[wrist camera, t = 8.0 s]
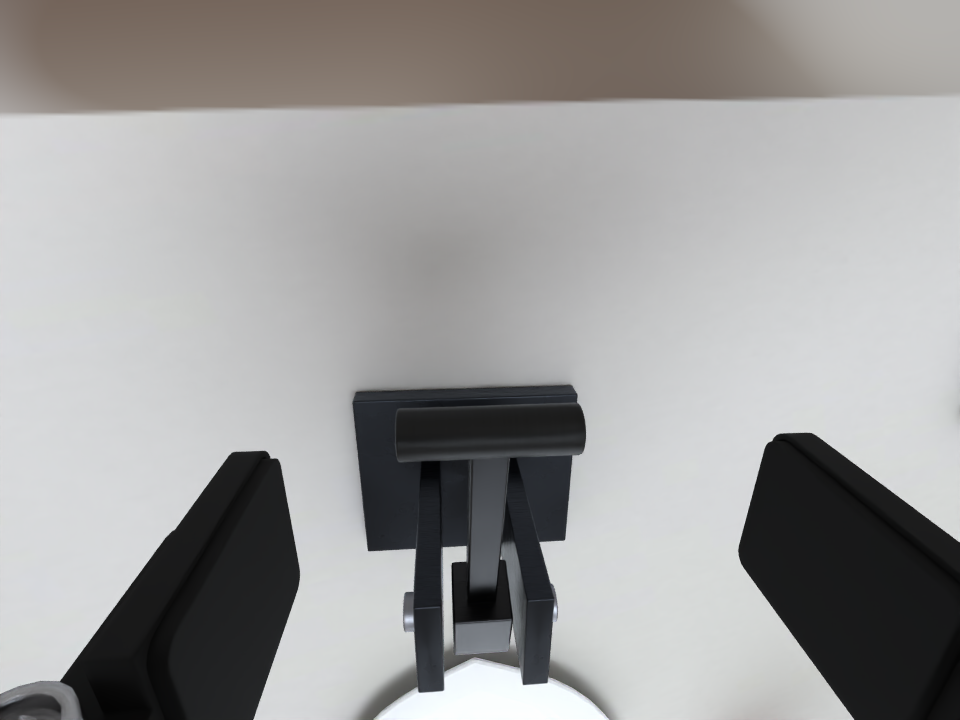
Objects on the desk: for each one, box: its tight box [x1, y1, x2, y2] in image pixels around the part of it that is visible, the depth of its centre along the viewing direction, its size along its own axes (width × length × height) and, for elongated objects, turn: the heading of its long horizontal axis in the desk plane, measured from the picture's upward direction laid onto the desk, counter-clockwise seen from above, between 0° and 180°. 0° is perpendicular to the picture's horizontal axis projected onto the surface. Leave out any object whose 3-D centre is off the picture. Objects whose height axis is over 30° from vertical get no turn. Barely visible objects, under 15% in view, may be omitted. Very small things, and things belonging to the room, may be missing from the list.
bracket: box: [353, 386, 578, 693], centre depth 23 cm, size 10×12×12 cm
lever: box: [395, 403, 586, 655], centre depth 17 cm, size 12×5×2 cm, turn 0°
